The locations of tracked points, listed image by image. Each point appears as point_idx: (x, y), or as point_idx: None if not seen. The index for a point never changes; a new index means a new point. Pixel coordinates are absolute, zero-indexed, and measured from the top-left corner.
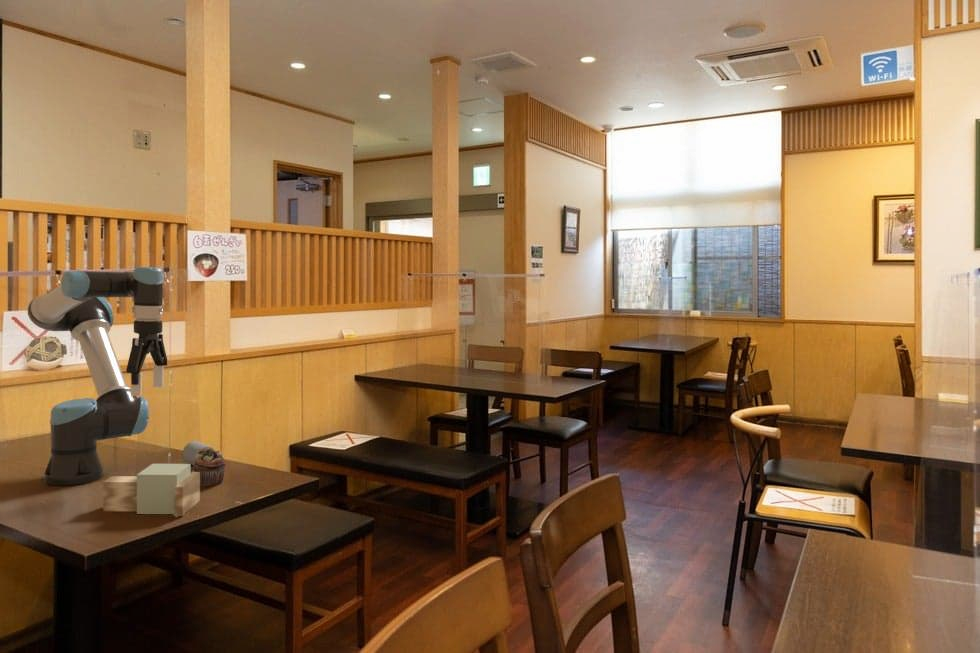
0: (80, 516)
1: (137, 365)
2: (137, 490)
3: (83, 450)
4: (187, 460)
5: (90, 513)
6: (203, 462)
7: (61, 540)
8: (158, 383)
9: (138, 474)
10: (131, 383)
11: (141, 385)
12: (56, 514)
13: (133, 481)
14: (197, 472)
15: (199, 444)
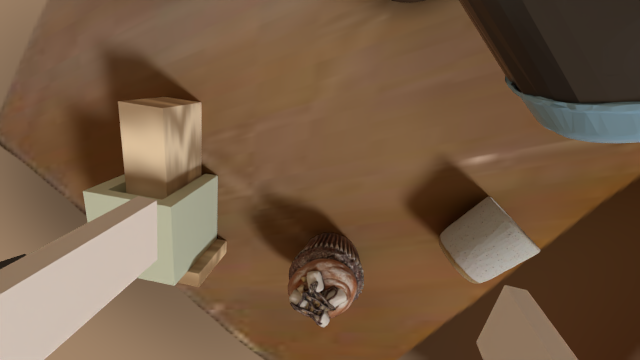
0: (133, 61)
1: None
2: (113, 179)
3: None
4: (471, 209)
5: (150, 75)
6: (291, 283)
7: (29, 73)
8: (500, 345)
9: (84, 194)
10: (5, 260)
11: (91, 310)
12: (140, 3)
13: (129, 168)
14: (195, 283)
15: (488, 259)
